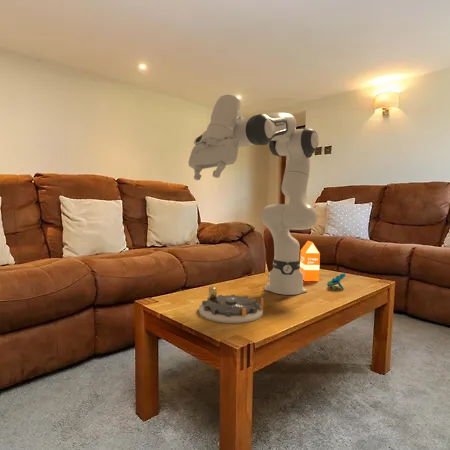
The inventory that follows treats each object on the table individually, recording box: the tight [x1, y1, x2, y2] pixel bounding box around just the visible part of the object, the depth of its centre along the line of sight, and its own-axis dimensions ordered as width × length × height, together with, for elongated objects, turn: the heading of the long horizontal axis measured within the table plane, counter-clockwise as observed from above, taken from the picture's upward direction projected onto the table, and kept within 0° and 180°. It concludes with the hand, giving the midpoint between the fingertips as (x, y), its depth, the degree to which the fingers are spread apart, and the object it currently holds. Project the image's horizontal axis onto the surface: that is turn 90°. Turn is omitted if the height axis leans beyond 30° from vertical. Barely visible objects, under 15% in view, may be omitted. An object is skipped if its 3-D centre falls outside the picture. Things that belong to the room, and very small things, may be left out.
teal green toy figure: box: [326, 272, 346, 290], centre depth 155 cm, size 11×6×10 cm
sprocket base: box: [198, 297, 265, 324], centre depth 119 cm, size 23×23×6 cm
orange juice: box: [299, 240, 321, 282], centre depth 172 cm, size 8×9×20 cm
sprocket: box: [201, 286, 261, 317], centre depth 119 cm, size 21×21×6 cm
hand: (205, 178), depth 105 cm, fingers open, 8 cm apart
